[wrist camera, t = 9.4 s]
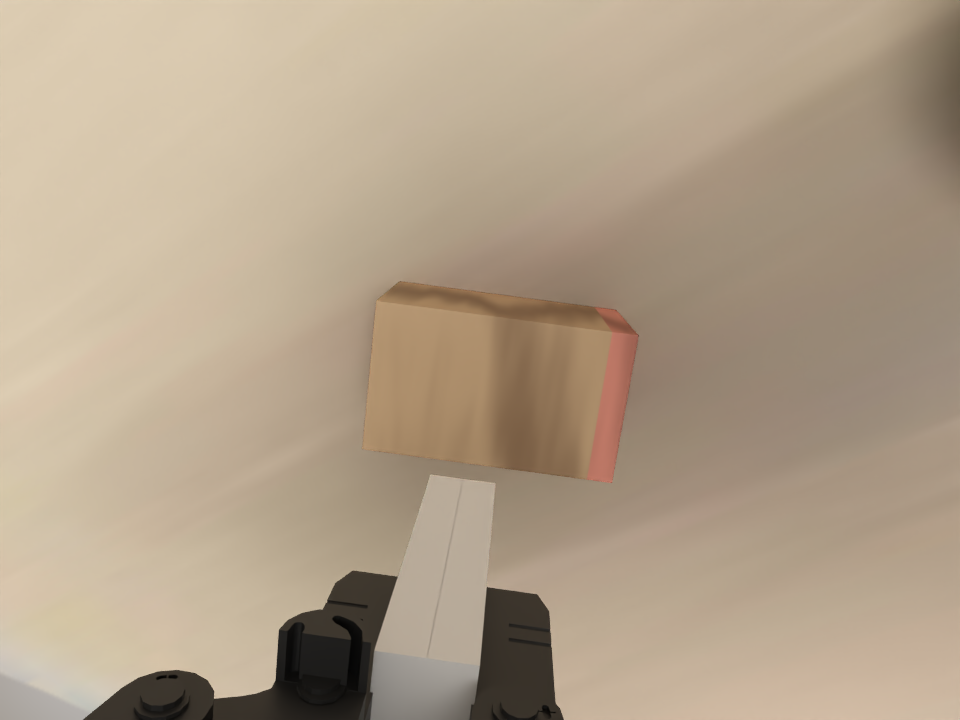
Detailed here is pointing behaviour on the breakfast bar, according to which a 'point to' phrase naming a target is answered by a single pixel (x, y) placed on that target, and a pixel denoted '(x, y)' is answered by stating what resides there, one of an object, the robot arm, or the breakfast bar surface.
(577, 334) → the oak block
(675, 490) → the breakfast bar surface
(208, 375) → the breakfast bar surface
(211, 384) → the breakfast bar surface
